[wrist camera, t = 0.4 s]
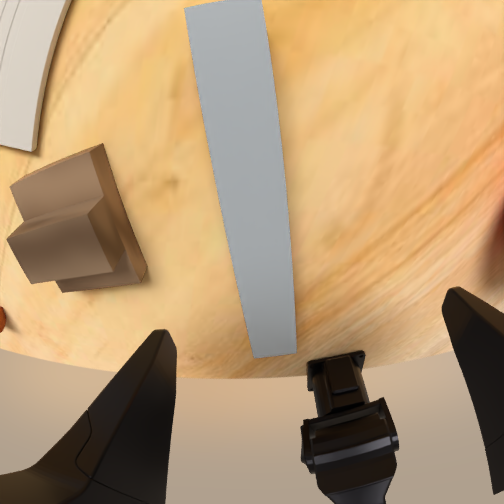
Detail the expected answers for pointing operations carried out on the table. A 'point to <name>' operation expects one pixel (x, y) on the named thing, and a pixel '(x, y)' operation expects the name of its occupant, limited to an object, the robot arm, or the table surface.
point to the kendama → (2, 319)
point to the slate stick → (247, 163)
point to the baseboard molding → (26, 65)
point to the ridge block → (75, 226)
